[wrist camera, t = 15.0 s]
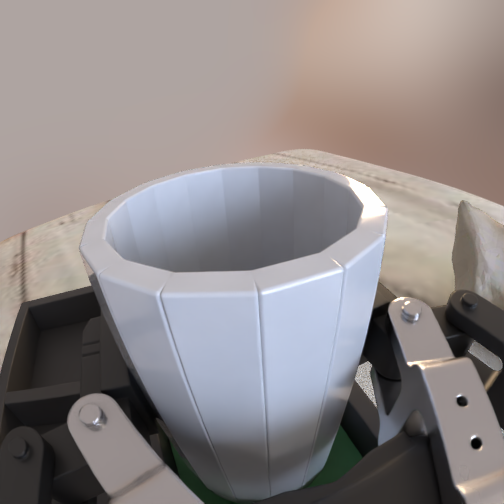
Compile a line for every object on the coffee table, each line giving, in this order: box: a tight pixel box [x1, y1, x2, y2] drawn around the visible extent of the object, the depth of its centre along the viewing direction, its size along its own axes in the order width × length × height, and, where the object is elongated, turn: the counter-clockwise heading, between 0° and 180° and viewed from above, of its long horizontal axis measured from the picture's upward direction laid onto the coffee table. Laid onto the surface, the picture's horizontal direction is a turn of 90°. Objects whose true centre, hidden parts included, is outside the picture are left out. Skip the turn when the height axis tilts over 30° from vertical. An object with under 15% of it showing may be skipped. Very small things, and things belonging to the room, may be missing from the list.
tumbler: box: [79, 162, 388, 504], centre depth 8 cm, size 6×6×10 cm
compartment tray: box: [0, 286, 380, 504], centre depth 13 cm, size 17×17×3 cm
